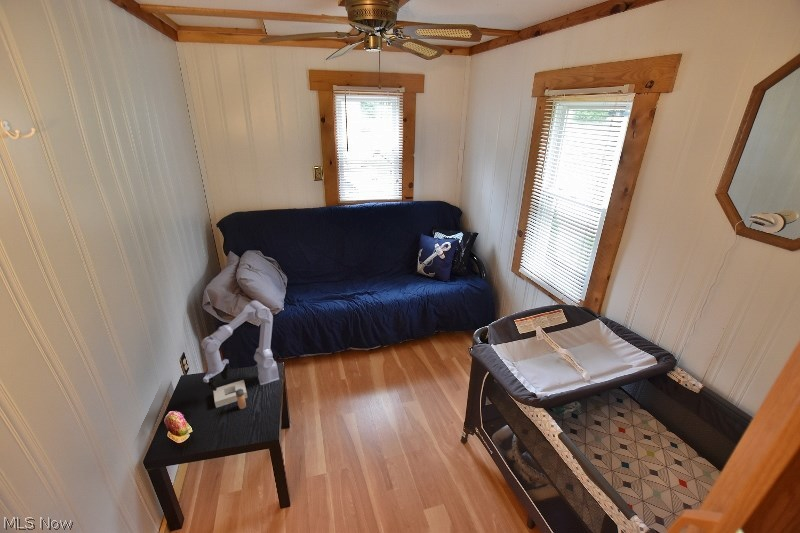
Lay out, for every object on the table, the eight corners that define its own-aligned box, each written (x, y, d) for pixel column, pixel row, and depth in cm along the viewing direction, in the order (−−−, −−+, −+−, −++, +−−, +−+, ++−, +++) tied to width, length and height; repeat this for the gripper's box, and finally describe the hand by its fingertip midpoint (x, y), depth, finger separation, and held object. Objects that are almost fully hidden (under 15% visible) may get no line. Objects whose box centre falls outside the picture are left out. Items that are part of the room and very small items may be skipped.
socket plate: (244, 385, 187) (243, 379, 185) (247, 397, 179) (246, 392, 177) (214, 394, 180) (213, 388, 179) (216, 407, 172) (214, 402, 171)
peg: (245, 403, 175) (242, 388, 172) (246, 407, 173) (243, 392, 169) (238, 405, 174) (235, 390, 170) (239, 410, 171) (236, 394, 168)
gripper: (217, 350, 174) (222, 373, 180) (195, 369, 161) (201, 393, 167) (230, 352, 173) (235, 375, 178) (208, 372, 160) (214, 396, 165)
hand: (219, 384), depth 172 cm, fingers open, 7 cm apart
